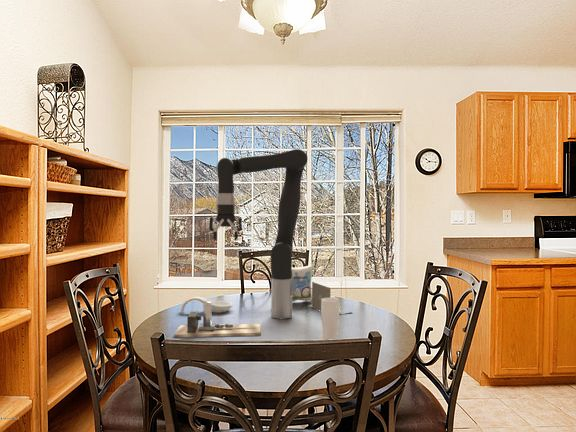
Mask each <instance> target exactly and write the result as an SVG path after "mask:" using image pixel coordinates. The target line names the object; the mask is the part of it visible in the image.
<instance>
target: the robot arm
mask: <svg viewBox="0 0 576 432" xmlns="http://www.w3.org/2000/svg"><path fill="white" fill-rule="evenodd" d="M307 163H308V155H307V153H306V152H305V151H304V150H302V149H299V148H295V149H294V148H293V149H291V150H287V151H284V152H280V153H279V152H278V153H275V154H274V153H273V154H264V155H249V156H243V157H239V158H235V159H230V158H228V157H223V158H220V159H219V161H218V163H217V179H218V181H217V182H218V183H217V199H216V200H217V202H216V203H217V204H216V207H217V208H216V217H215V216H210V217H209V225H208V226H209V227H208V230H209V231H211V232H212V234H213V235H212V236H213V238H212V239H213V240H214V241H218V229H219V228H220V227H221V228H225V227H226V228H230V227H231V228H232V229H233V230H234V239H233V240H234V242H236V241H237V240H238V238H239V234H238V233H239V232H241V231H242V230H243V224H242V223H243V222H242V216H241V217H240V216H239V217H235V203H236V201H235V182H234V175H238V174H239V175H240V174H246V173H256V172H257V173H258V172H262V171H267V170H268V171H269V170H273V169H282V168H283V169H285V175H284V182H283V186H282V190H281V193H280V194H281V195H280V198H279V203H278V210H277V211H278V212H277V235H276V238H275V243H274V245H273V246H272V248H271V251H270V273H271V286H270V287H271V290H270V291H271V293H270V295H271V297H270V298H271V300H270V302H271V305H270V306H271V309H270V311H271V313H270V315H271V318H273V319H280V320H281V319H283V320H284V319H292V318H293V301H292V267H293V266H292V265H293V263H292V261H293V260H292V256H293V246H294V245H293V244H294V233H295V229H296V225H297V221H298V216H299V211H300V207H301V205H300V204H301V196H302V195H301V193H302V192H301V184H302V183H301V181H302V177H303V173H304V169H305V167H306V165H307ZM215 221H216V222H217V225H216V226H215V227H214V226H213V225H214V222H215ZM235 221H236V222H237V223H238V228H237V227H236V225H235V224H234V223H235ZM213 227H214V228H213Z"/></svg>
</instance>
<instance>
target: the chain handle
mask: <svg viewBox="0 0 576 432" xmlns="http://www.w3.org/2000/svg"><path fill="white" fill-rule="evenodd" d="M202 304H203V307H202V308H203V310H202V317H203V319H202V323H201V322H200V324H198V325H199V330H215V327H216V328H223V327H224V325H225V328H232V327H233V323H226V324H224V323H222V324H221V323H218V324H217V323H215V322H213V321H212V319H213V317H212V316H213V314H212V313H213V312H212V301H204V302H203V303H202Z"/></svg>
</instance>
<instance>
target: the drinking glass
mask: <svg viewBox="0 0 576 432" xmlns="http://www.w3.org/2000/svg"><path fill="white" fill-rule="evenodd" d="M340 302H341V301H340V299H339V298H337V297H330V298H322V299H321V311H320V315H321V330H322V340H323V341H324V340H329V339H337V340H338V332H339V322H340V321H339V320H340V315H339V312H340V307H341V303H340Z"/></svg>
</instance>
